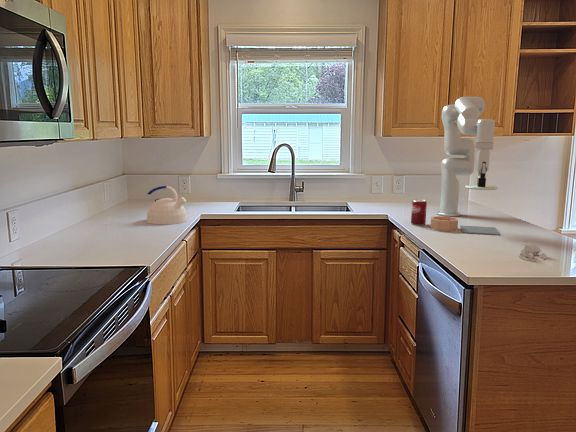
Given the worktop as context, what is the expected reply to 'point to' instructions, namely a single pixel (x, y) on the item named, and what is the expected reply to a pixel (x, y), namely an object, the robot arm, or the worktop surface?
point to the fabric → (531, 252)
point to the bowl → (444, 223)
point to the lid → (481, 187)
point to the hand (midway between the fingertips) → (481, 185)
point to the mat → (479, 230)
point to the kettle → (167, 209)
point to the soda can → (418, 212)
